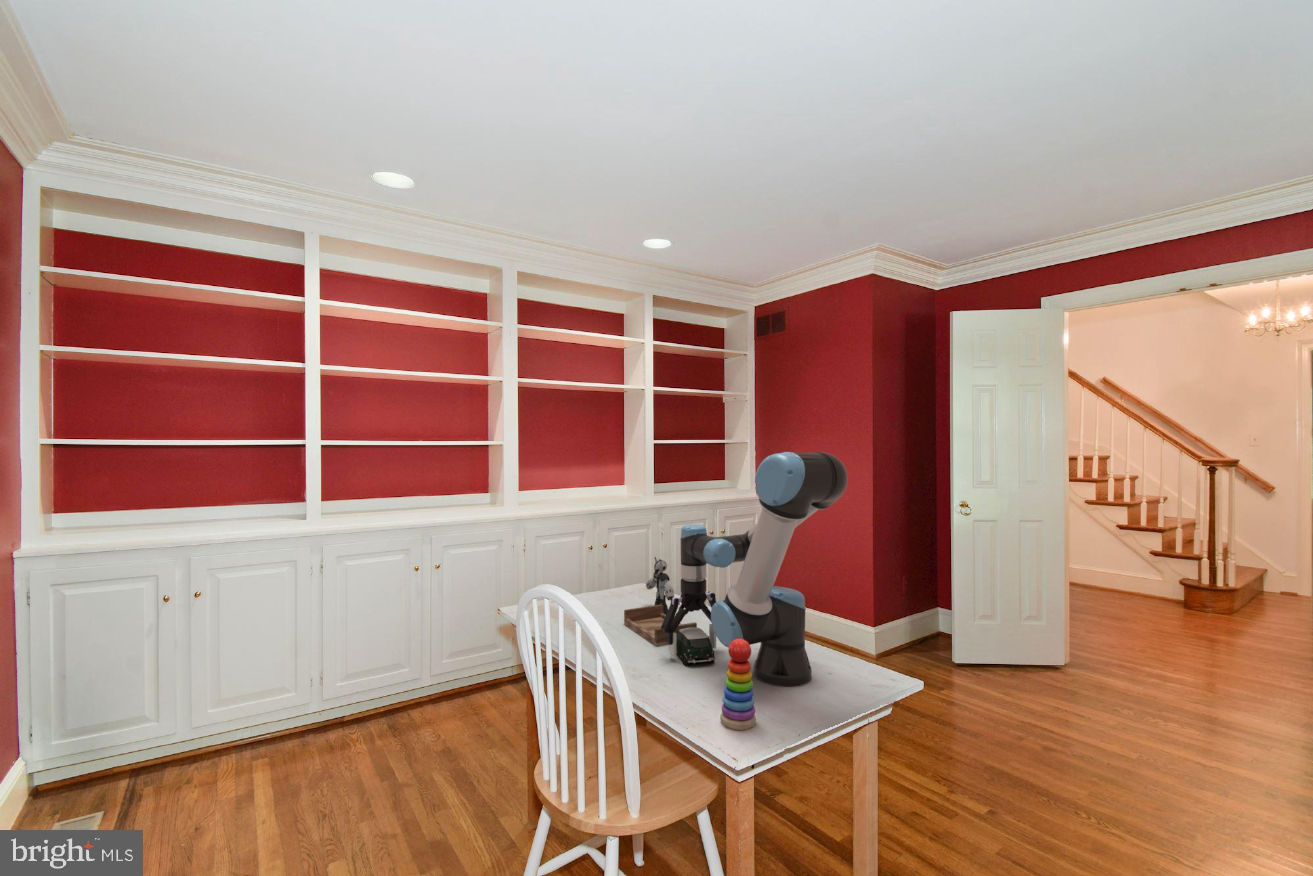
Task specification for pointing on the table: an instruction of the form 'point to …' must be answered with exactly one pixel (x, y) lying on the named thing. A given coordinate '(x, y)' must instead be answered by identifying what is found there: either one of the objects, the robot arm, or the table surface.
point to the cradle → (650, 623)
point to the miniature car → (694, 646)
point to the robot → (661, 584)
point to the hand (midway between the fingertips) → (693, 651)
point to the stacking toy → (738, 688)
